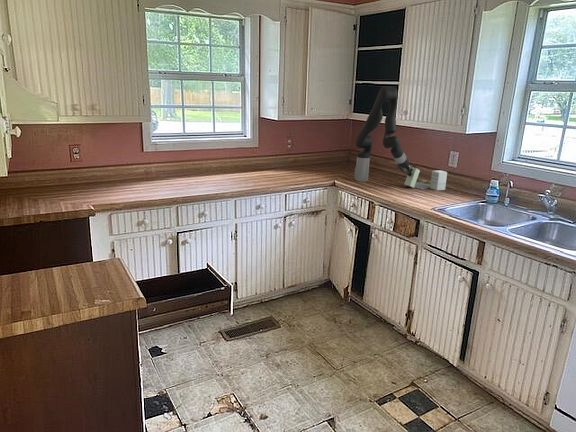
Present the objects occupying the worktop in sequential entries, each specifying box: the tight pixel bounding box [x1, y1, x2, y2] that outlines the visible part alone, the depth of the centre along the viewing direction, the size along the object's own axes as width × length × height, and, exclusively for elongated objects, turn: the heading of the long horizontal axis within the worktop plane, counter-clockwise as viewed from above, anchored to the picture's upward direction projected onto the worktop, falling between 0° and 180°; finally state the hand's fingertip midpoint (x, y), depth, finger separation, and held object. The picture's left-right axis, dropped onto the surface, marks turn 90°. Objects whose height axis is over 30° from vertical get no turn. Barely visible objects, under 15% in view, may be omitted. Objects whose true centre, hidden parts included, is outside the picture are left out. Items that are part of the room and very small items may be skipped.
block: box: [403, 167, 421, 189], centre depth 309 cm, size 5×5×13 cm
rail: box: [417, 178, 431, 185], centre depth 322 cm, size 16×2×2 cm, turn 38°
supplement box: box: [429, 169, 448, 191], centre depth 307 cm, size 7×7×13 cm
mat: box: [403, 181, 431, 190], centre depth 317 cm, size 16×17×1 cm
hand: (410, 175), depth 307 cm, fingers closed
